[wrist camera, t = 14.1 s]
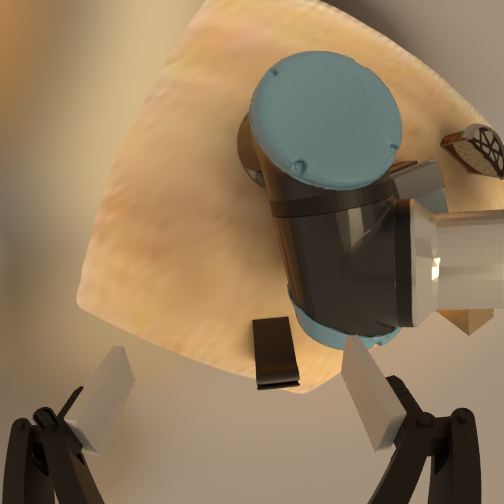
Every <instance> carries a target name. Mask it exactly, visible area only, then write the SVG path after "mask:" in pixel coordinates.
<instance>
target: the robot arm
mask: <svg viewBox="0 0 504 504" xmlns="http://www.w3.org/2000/svg"><path fill="white" fill-rule="evenodd" d="M401 139H402V122H401V117H400V113H399V109H398V107H397V104H396V102H395V100H394V98H393V96H392V94H391V93H390V91H389V89H388V88H387V87H386V85H385V84H384V83H383V82H382V80H381V79H380V78H379V77H378V76H377V75H376V74H374V73H373V72H372V71H371V70H370V69H368V68H365V67H363V66H361V65H359V64H358V63H356V62H355V61H354V60H353V59H351V58H349V57H347V56H344V55H341V54H337V53H333V52H327V51H307V52H301V53H297V54H293V55H291V56H288V57H286V58H284V59H282V60H280V61H279V62H277V63H276V64H275V65H273V66H272V67H271V68H270V69H269V70H268V71H267V72H266V73H265V75H264V76H263V77H262V79H261V81H260V82H259V84H258V86H257V87H256V89H255V91H254V93H253V97H252V99H251V105H250V107H249V112H248V113H247V115H246V116H245V118H244V119H243V121H242V123H241V126H240V129H239V133H238V141H237V145H238V153H239V157H240V160H241V163H242V165H243V167H244V169H245V170H246V172H247V173H248V175H249V176H250V177H251V178H252V179H253V180H254V181H255V182H256V183H257V184H259V185H260V186H261V187H263V188H265V189H267V193H268V197H269V200H270V205H271V209H272V213H273V219H274V223H275V228H276V232H277V236H278V240H279V244H280V249H281V253H282V257H283V262H284V266H285V271H286V275H287V279H288V285H287V288H288V294H289V298H290V300H291V302H292V304H293V306H294V309H295V313H296V317H297V320H298V322H299V324H300V326H301V327H302V329H303V330H304V332H305V333H306V334H307V335H308V336H310V337H311V338H312V339H314V340H315V341H317V342H319V343H320V344H323V345H325V346H328V347H331V348H334V349H338V350H344V353H343V361H342V369H341V374H342V376H343V379H344V381H345V383H346V385H347V388H348V390H349V392H350V394H351V396H352V399H353V401H354V404H355V406H356V408H357V411H358V413H359V415H360V417H361V420H362V422H363V425H364V427H365V429H366V432H367V434H368V436H369V439H370V441H371V443H372V446H373V448H374V451H375V453H379V452H382V451H386V450H389V449H390V448H391V446H392V444H393V442H394V444H395V447H396V450H395V452H394V454H393V456H392V457H391V461H390V463H389V465H388V467H387V469H386V471H385V473H384V475H383V477H382V479H381V481H380V482H379V485H378V486H377V488H376V490H375V492H374V494H373V495H372V497H371V499H370V500H369V502H368V504H408V503H409V501H410V498H411V496H412V494H413V492H414V489H415V487H416V485H417V482H418V480H419V477H420V474H421V472H422V469H423V466H424V463H425V461H426V458H427V456H431V474H430V486H429V496H428V504H481V468H480V454H479V445H478V437H477V430H476V423H475V417H474V414H473V413H472V412H471V411H470V410H469V409H467V408H458V409H456V410H454V411H453V413H452V414H451V416H448V417H440V418H435V417H434V416H433V415H432V414H430V413H428V412H423V411H422V410H421V408H420V407H419V405H418V404H417V402H416V401H415V399H414V398H413V396H412V395H411V393H410V392H409V390H408V389H407V388H406V386H405V384H404V383H403V381H402V380H401V379H399V378H398V377H396V376H395V375H393V376H390V377H384V375H383V373H382V372H381V370H380V369H379V367H378V366H377V364H376V363H375V361H374V359H373V358H372V356H371V355H370V353H369V352H368V350H370V349H372V348H373V347H374V344H378V345H380V346H382V345H384V344H386V343H388V342H390V341H391V340H392V339H394V338H395V337H396V335H397V334H398V333H399V331H400V329H401V328H402V327H418V326H419V325H420V324H421V323H422V322H423V321H424V320H425V319H426V318H427V317H428V316H429V315H430V314H431V313H432V312H434V311H436V310H465V309H489V308H504V209H503V210H484V211H468V212H452V213H437V214H434V213H432V212H430V211H429V210H427V209H426V208H425V207H424V206H423V205H422V204H421V203H420V202H418V201H417V200H416V199H400V200H397V199H394V194H393V188H392V182H391V176H390V171H389V167H390V166H391V165H392V163H393V162H394V160H395V155H396V151H397V150H398V149H399V148H400V145H401ZM134 383H135V378H134V375H133V373H132V370H131V367H130V364H129V361H128V358H127V355H126V352H125V350H124V347H121V346H113V347H112V348H111V350H110V351H109V353H108V354H107V355H106V357H105V358H104V360H103V361H102V363H101V364H100V365H99V367H98V368H97V370H96V371H95V372H94V374H93V375H92V377H91V378H90V380H89V381H88V383H87V384H86V385H85V387H81V386H80V387H79V388H78V389H76V390H75V391H74V392H73V394H72V395H71V397H70V398H69V399H68V401H67V403H66V404H65V405H64V407H63V408H62V410H61V411H60V412H59V414H58V415H57V416H56V415H55V413H54V412H53V410H52V409H51V408H48V407H42V408H40V409H38V410H37V411H35V413H34V414H33V420H34V421H35V423H36V424H37V425H31V423H30V422H29V420H28V419H26V418H20V419H17V420H16V421H15V422H14V423H13V425H12V428H11V433H10V438H9V443H8V449H7V456H6V463H5V471H4V481H3V498H2V504H55V496H54V490H55V493H56V496H57V499H58V502H59V504H105V503H104V501H103V499H102V497H101V495H100V493H99V491H98V489H97V487H96V485H95V482H94V480H93V478H92V475H91V473H90V471H89V468H88V466H87V463H86V461H85V458H84V455H83V454H82V452H81V450H82V448H83V447H84V448H85V450H86V451H87V452H88V453H90V454H93V455H97V456H100V455H101V453H102V451H103V448H104V446H105V444H106V442H107V439H108V437H109V435H110V433H111V431H112V429H113V426H114V424H115V422H116V420H117V418H118V416H119V414H120V412H121V410H122V407H123V405H124V403H125V401H126V399H127V397H128V395H129V393H130V391H131V389H132V387H133V385H134Z"/></svg>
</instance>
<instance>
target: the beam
mask: <svg viewBox="0 0 504 504" xmlns="http://www.w3.org/2000/svg"><path fill="white" fill-rule="evenodd" d="M390 176H391V182H392V188H393V194H394V199H397V200H400V199H416V200H417V201H418V202H420V203H421V204H422V205H423V206H424V207H425V208H426V209H427V210H429V211H430V212H432V213H434V214H437V213H448V208H447V204H446V200H445V197H444V193H443V189H442V188H443V187H445V186H444V182H443V179H442V176H441V172H440V169H439V166H438V163H437V162H434V160H433V159H431V160H426V161H424V162H421V163H418V164H416V165H413V166H411V167H408V168H406V169H403V170H401V171H398V172H396V173H393V174H391V175H390Z"/></svg>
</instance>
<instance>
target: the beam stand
mask: <svg viewBox="0 0 504 504" xmlns="http://www.w3.org/2000/svg"><path fill="white" fill-rule="evenodd" d="M416 164H418V161H406V162H401V163H398V164H396V165H393V166H390V167H389V171H390V175H391V174H393V173H396V172H398V171H401V170H403V169H406V168H408V167H411V166H413V165H416Z"/></svg>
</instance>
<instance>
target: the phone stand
mask: <svg viewBox="0 0 504 504" xmlns="http://www.w3.org/2000/svg"><path fill="white" fill-rule="evenodd" d="M253 333H254V348H255V363H256V381H257V385H258V387H257V389H258V390H267V389H276V388H286V387H295V386H299V385H300V384H299V383H298V380H300V378H299V370H298V366H297V362H296V357H295V351H294V346H293V340H292V335H291V329H290V324H289V318H288V317H284V318H275V319H265V320H254V321H253Z"/></svg>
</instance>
